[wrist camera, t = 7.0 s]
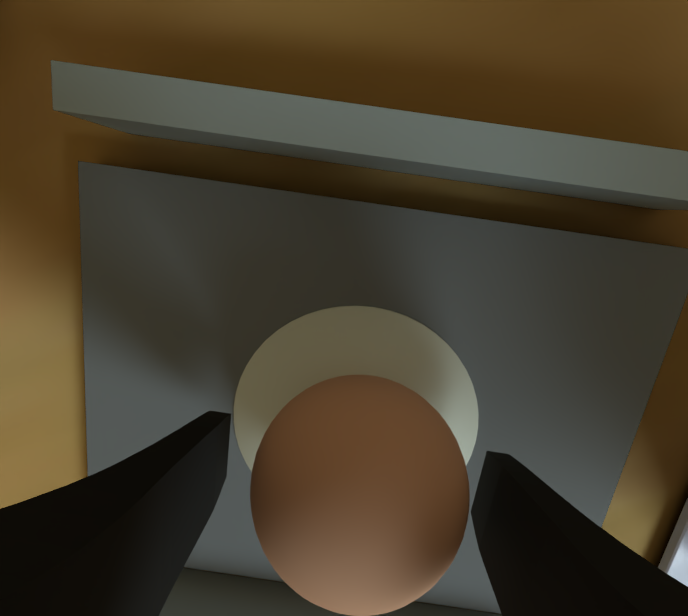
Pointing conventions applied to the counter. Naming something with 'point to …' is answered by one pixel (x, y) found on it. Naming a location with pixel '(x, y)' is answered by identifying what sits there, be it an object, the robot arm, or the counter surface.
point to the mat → (364, 335)
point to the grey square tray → (370, 152)
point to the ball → (359, 495)
